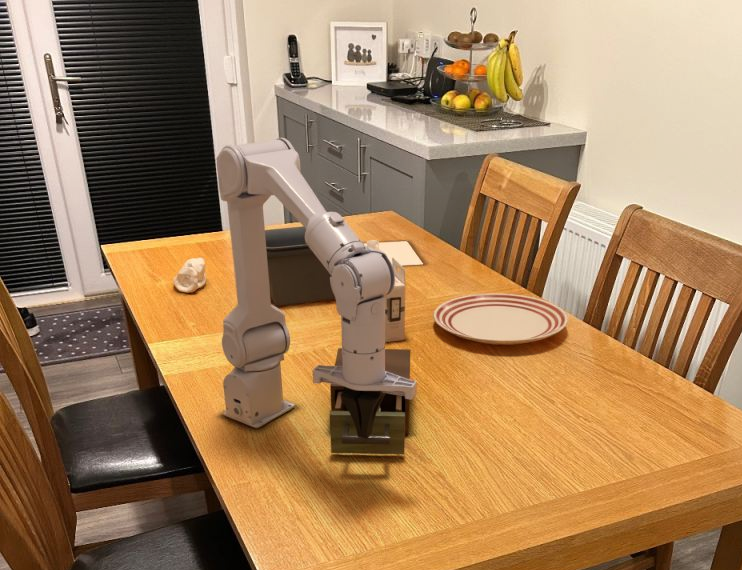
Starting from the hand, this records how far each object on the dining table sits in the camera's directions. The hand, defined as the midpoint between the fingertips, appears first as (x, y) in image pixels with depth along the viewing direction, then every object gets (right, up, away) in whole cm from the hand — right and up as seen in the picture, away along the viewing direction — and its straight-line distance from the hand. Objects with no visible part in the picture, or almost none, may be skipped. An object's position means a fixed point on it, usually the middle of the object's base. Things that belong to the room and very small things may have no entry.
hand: (364, 434), depth 112 cm
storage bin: (-15, +34, +69) cm, 79 cm away
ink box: (+3, +22, +51) cm, 55 cm away
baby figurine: (-43, +38, +75) cm, 94 cm away
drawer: (0, 0, +13) cm, 13 cm away
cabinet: (+1, +5, +22) cm, 23 cm away
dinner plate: (+27, +24, +53) cm, 64 cm away
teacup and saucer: (+1, +50, +95) cm, 108 cm away
